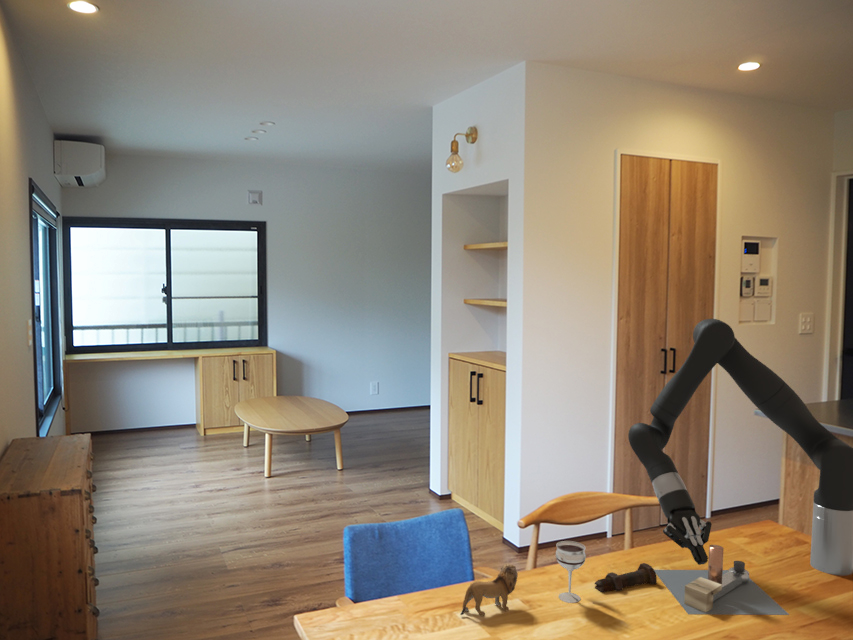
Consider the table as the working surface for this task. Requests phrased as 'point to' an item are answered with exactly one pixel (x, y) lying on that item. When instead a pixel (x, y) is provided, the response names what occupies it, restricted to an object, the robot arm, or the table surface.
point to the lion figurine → (492, 589)
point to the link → (716, 569)
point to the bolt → (627, 579)
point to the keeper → (701, 593)
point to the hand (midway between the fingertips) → (703, 563)
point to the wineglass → (570, 564)
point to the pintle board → (732, 603)
